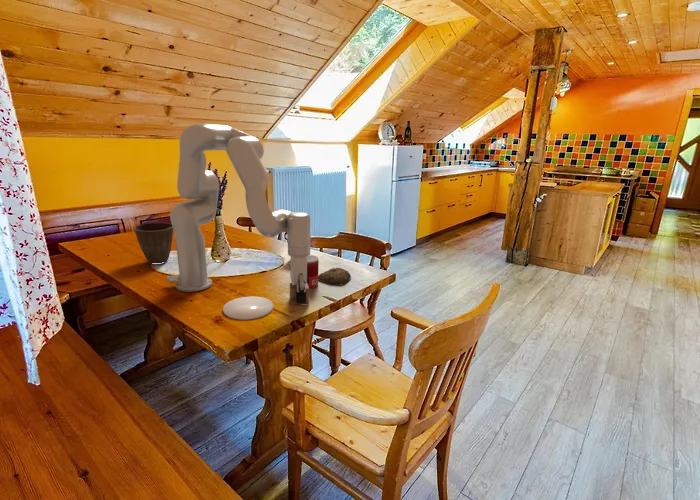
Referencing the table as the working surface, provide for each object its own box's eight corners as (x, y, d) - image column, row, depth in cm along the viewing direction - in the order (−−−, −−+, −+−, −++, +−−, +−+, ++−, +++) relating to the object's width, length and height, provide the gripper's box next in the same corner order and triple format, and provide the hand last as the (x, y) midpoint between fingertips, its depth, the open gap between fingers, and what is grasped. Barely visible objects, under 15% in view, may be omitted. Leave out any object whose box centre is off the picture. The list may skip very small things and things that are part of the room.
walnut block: (291, 305, 129) (291, 289, 128) (289, 298, 135) (289, 282, 133) (308, 304, 131) (308, 288, 129) (306, 297, 136) (306, 281, 135)
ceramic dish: (221, 321, 117) (221, 319, 117) (225, 300, 132) (224, 297, 131) (274, 317, 120) (274, 315, 120) (272, 297, 135) (272, 295, 135)
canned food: (318, 281, 151) (319, 255, 148) (317, 289, 143) (318, 261, 140) (299, 281, 151) (299, 254, 147) (297, 289, 143) (297, 261, 140)
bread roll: (339, 287, 146) (340, 275, 145) (313, 280, 152) (314, 269, 151) (356, 278, 157) (357, 266, 155) (331, 271, 163) (332, 260, 161)
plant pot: (177, 265, 163) (173, 229, 158) (138, 269, 157) (132, 231, 152) (176, 255, 176) (172, 221, 171) (139, 258, 170) (135, 223, 165)
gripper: (285, 243, 134) (286, 288, 139) (289, 258, 118) (290, 308, 123) (307, 242, 136) (307, 286, 141) (313, 257, 120) (313, 306, 125)
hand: (299, 296), depth 132 cm, fingers open, 9 cm apart
